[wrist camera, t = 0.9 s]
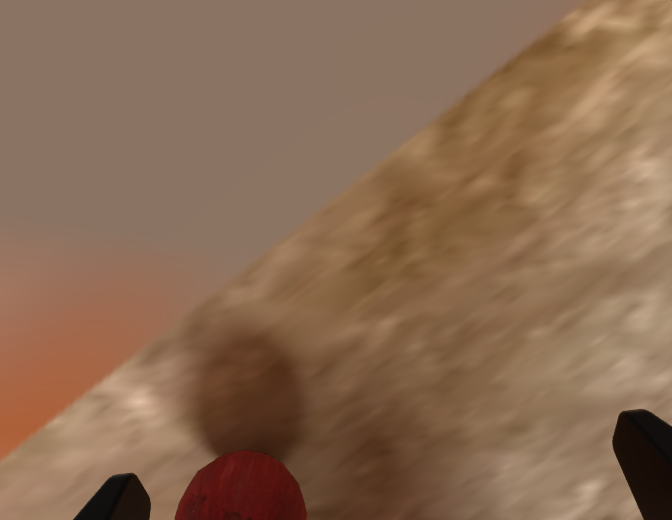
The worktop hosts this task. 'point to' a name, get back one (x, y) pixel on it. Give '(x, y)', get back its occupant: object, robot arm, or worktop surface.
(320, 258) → the worktop surface
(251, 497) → the onion
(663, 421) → the robot arm
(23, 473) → the worktop surface
